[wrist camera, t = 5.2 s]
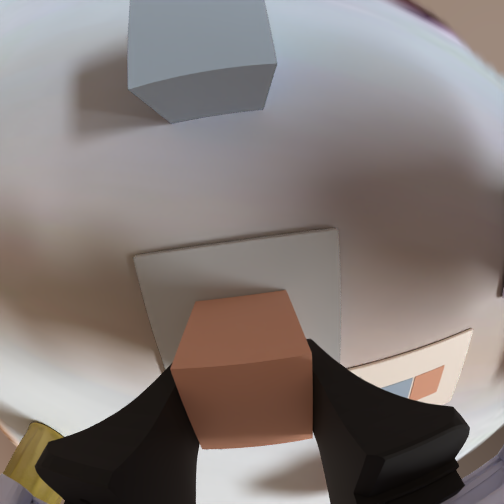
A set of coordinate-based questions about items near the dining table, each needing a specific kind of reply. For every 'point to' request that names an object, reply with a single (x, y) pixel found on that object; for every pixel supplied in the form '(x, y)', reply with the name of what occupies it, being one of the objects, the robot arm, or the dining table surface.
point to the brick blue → (200, 56)
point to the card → (421, 370)
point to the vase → (33, 462)
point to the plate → (245, 282)
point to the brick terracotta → (245, 372)
